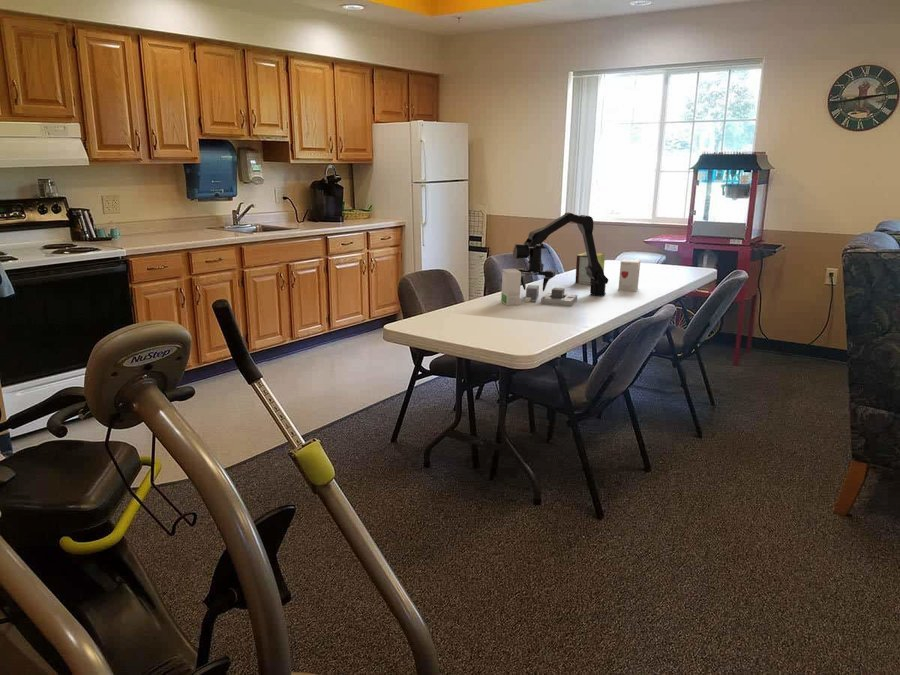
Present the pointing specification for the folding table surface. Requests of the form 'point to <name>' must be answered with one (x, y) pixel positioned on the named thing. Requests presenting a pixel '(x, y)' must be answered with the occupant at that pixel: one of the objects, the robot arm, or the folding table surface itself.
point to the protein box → (581, 271)
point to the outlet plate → (559, 300)
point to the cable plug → (528, 299)
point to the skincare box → (511, 287)
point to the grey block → (558, 292)
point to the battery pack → (532, 291)
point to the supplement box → (629, 275)
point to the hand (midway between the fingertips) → (534, 290)
